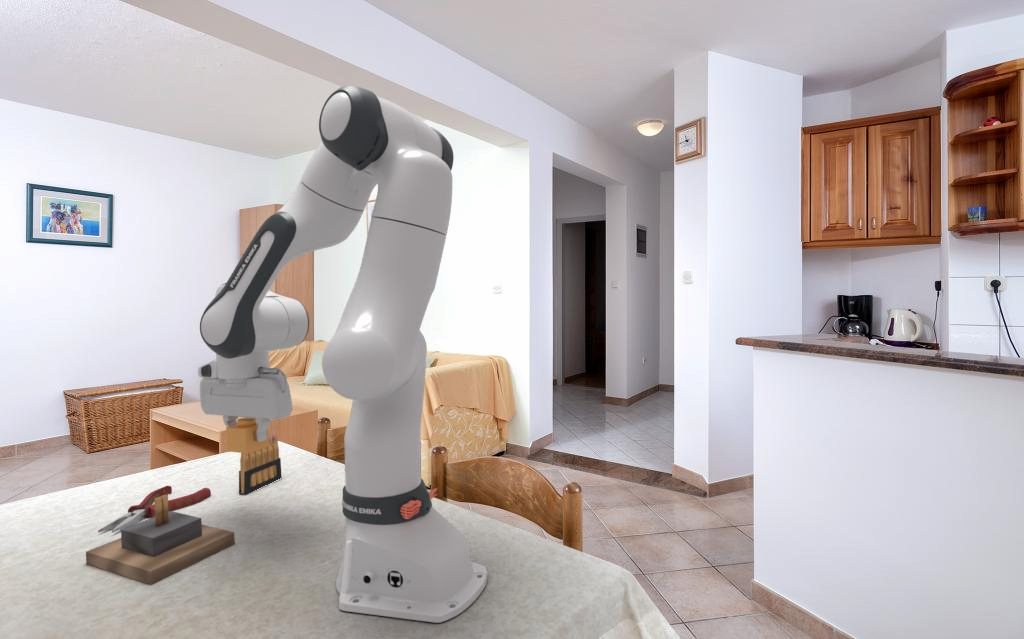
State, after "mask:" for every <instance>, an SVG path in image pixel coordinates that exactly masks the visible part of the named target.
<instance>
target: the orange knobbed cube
mask: <svg viewBox="0 0 1024 639" xmlns="http://www.w3.org/2000/svg"><path fill="white" fill-rule="evenodd" d="M236 421H237V425H234V426H230V427H226V426H225V429H226V430H225V433H226V449H227V450H226V451H227V452H230V453H239V454H241V453H250V452H253V451H256V450H259V449H262V448H265V447H268V446H269V437H268V431H269V428H268V429H267V431H266V432H267V439H266V440H265V441H262V442H258V441H254V440H253V438H254V436H253V432H256V431H257V428H258V424H257V423H256V418H248V417H240V418H238V419H236Z"/></svg>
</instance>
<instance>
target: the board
mask: <svg viewBox="0 0 1024 639" xmlns="http://www.w3.org/2000/svg"><path fill="white" fill-rule="evenodd" d="M168 501H169V495H163V496H161V497H157V498H155V499H154V504H155V517H153V518H147V519H144V520H142V521H140V522H139V523H137V524H134V525H132V526H129V527H126V528H123V529H121V530H120V538H118V539H115V540H112V541H109V542H107V543H105V544H102V545H100V546H97V547H95V548H92V549H90V550H87V551H85V558H86V559H85V561H86V564H85V565H88V566H91V567H94V568H98V569H101V570H104V571H107V572H110V573H113V574H117V575H120V576H123V577H126V578H129V579H131V580H135V581H138V582H141V583H143V584H147V585H154V584H155V583H157V582H160V581H161V580H163V578H164V579H165V578H168V577H169V576H171V575H173V574H176V573H178V572H180V571H181V570H184V569H186V568H188V567H189V566H192V565H194V564H196V563H199V562H200V561H202V560H204V559H206V558H208V557H210V556H213V555H215V554H216V553H218V552H220V551H222V550H224V549H226V548H228V547H231V546H232V545H235V532H234V531H231V530H226V529H223V528H222V529H221V528H219V527H218V528H217V527H213V526H211V525H210V526H209V525H205V524H202V518H201V517H198V516H194V515H189V514H186V513H181V512H176V511H169V512H168Z"/></svg>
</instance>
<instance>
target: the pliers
mask: <svg viewBox="0 0 1024 639" xmlns="http://www.w3.org/2000/svg"><path fill="white" fill-rule="evenodd" d="M172 491H173V488H172V486H171V485H165V486H163V487H160V488H157V489H155V490H153V491H151V492H150V493H149V494H147V495H146V496H145V497H144V499H143V500H142V501H141V502H140V503H139V504H136V505H135V504H134V505H131V506H129V508H127V513H125V514H123V515H122V516H120V517H118V518H116V519H114V520H113V521H111V522H110V523H109V524H107V525H105V526H103V527H102V528H100V529H98V530H97V532H98V533H102V532H106V531H109V530H111V533H112V534H113V533H115V532H118V531H121V530H122V529H124V528H127V527H129V526H132V525H135V524H137V523H140V522H142V521H144V520H147V519H151V518H153V517H155V502H154V499H155V498H157V497H161V496H163V495H168V494H169V495H171V494H172ZM211 494H212V491H211V489H210V488H209V487H203V488H201V489H200V490H197V491H196V492H194V493H190V494H188V495H185V496H180V497H177V498H173V499H168V512H169V511H172V512H175V511H177V510H181V509H184V508H187V507H190V506H194V505H197V504H199V503H201V502H203V501H205V500H207V499H208V498H210V497H211ZM169 495H168V496H169ZM209 496H210V497H209ZM204 499H205V500H204ZM153 502H154V503H153ZM196 503H197V504H196Z"/></svg>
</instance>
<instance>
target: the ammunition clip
mask: <svg viewBox="0 0 1024 639" xmlns="http://www.w3.org/2000/svg"><path fill="white" fill-rule="evenodd" d="M277 434H278V433H277V429H275V428H274V429H273V430H272V433H271V432H270V431H269V430H268V437H269V446H268V447H265V448H262V449H259V450H256V451H253V452H250V453H240V459H239V460H240V461H239V464H240V466H239V467H240V468H239V469H240V470H238V495H242V494H243V495H244V496H248V495H249V493H250V494H251V492H252V493H254V492H256V491H258V490H257V489H259V488H261V487H263V486H265V485H267V486H269V485H268V484H270V483H272V482H274V481H276V480H278V479H280V478H283V477H282V460H281V457H280V447H279V440H278V435H277ZM276 482H277V481H276ZM274 483H275V482H274ZM272 484H273V483H272ZM270 485H271V484H270ZM265 487H266V486H265ZM263 488H264V487H263ZM261 489H262V488H261ZM255 490H256V491H255ZM259 490H260V489H259ZM253 491H254V492H253Z"/></svg>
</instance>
